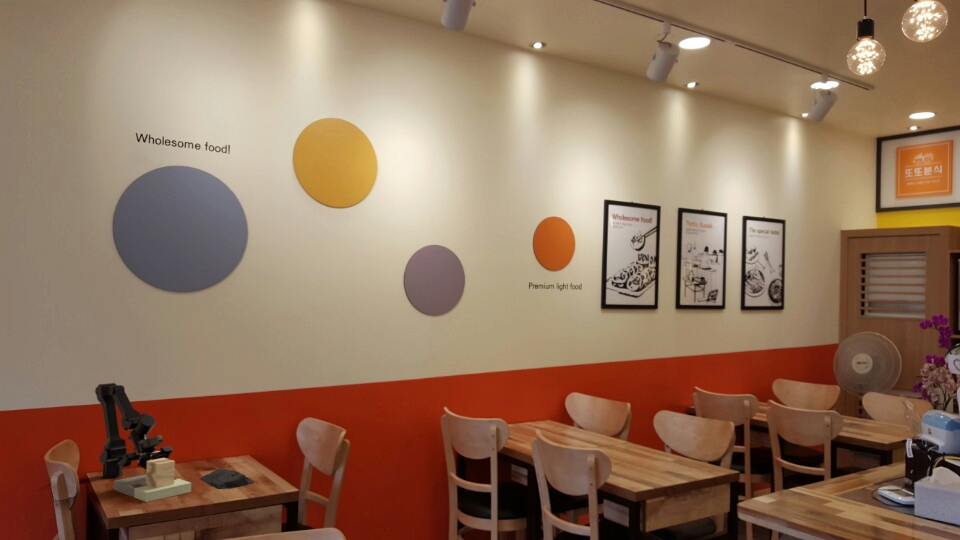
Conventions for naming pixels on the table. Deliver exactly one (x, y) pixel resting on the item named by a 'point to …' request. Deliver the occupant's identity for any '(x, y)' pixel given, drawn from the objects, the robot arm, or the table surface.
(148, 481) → the maple block
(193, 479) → the table surface
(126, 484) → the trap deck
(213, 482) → the dark slate chunk
